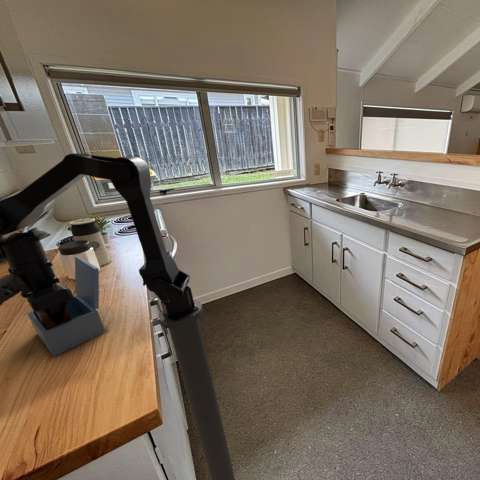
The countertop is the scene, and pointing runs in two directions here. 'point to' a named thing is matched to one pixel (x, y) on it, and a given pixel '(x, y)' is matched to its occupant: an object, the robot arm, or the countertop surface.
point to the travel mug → (90, 237)
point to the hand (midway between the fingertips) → (55, 319)
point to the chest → (70, 327)
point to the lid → (87, 282)
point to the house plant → (104, 234)
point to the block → (48, 322)
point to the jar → (76, 255)
